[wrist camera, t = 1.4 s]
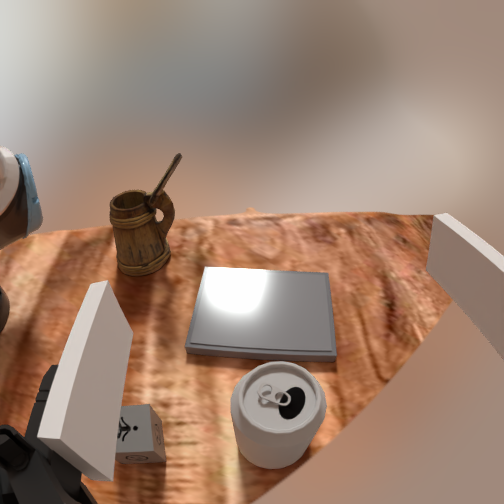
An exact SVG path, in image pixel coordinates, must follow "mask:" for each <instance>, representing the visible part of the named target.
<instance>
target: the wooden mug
mask: <svg viewBox="0 0 504 504" xmlns="http://www.w3.org/2000/svg"><path fill="white" fill-rule="evenodd" d="M181 158H182V155H181V154H180V153H179V154H177V155H176V156H175V157H174V159H173V161H172V163H171V164H170V166H169V168H168V169H167V171H166V173H165V175H164V176H163V178H162V179H161V181H160V182H159V184H158V185H157V187H156V189H155V190H154V191H153V192H149V193H146V192H145V191H142V190H129V191H125V192H122V193H120V194H118V195H117V196H115V197H114V198H113V199H112V200H111V202H110V222H111V224H112V225H113V231H114V237H115V244H116V250H117V262H118V267H119V269H120V270H121V271H122V272H123V273H125V274H126V275H130V276H142V275H146V274H150V273H153V272H155V271H157V270H158V269H160V268H161V267H162V266H163V265H164V264H165V263H166V261H167V259H168V258H169V256H170V253H171V251H170V247H169V244H168V241H167V239H166V235H167V233H168V231H169V229H170V227H171V225H172V223H173V220H174V216H175V210H174V207H173V203H172V201H171V199H170V197H169V196H168V195H167V194H166V193H165V191H164V190H163V188H164V187H165V185H166V183H167V181H168V180H169V178H170V176H171V175H172V173H173V172H174V170H175V169H176V167H177V165H178V164H179V162H180V160H181ZM156 208H157V209H160V210H161V211H162V212H163V214H164V218H163V220H162V221H159V222H158V221H157V220H156V217H155V215H156Z"/></svg>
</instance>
